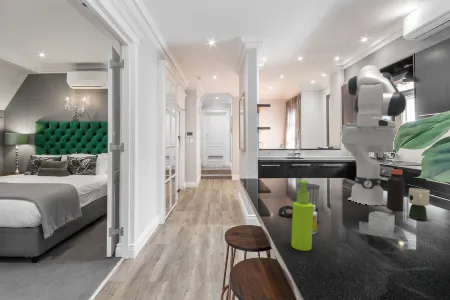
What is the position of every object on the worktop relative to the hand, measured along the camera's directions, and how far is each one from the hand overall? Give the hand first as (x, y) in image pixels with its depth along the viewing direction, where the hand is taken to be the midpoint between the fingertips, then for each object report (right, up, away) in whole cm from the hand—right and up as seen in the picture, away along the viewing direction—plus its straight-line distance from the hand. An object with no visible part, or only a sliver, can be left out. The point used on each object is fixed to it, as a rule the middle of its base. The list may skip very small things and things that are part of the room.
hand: (367, 156), depth 101 cm
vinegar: (+27, -27, +23) cm, 45 cm away
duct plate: (-1, -27, -10) cm, 29 cm away
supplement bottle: (-29, -27, -13) cm, 41 cm away
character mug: (+26, -28, +7) cm, 39 cm away
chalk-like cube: (-1, -27, -10) cm, 29 cm away
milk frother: (-28, -26, +2) cm, 38 cm away
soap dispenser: (-35, -27, -26) cm, 51 cm away
